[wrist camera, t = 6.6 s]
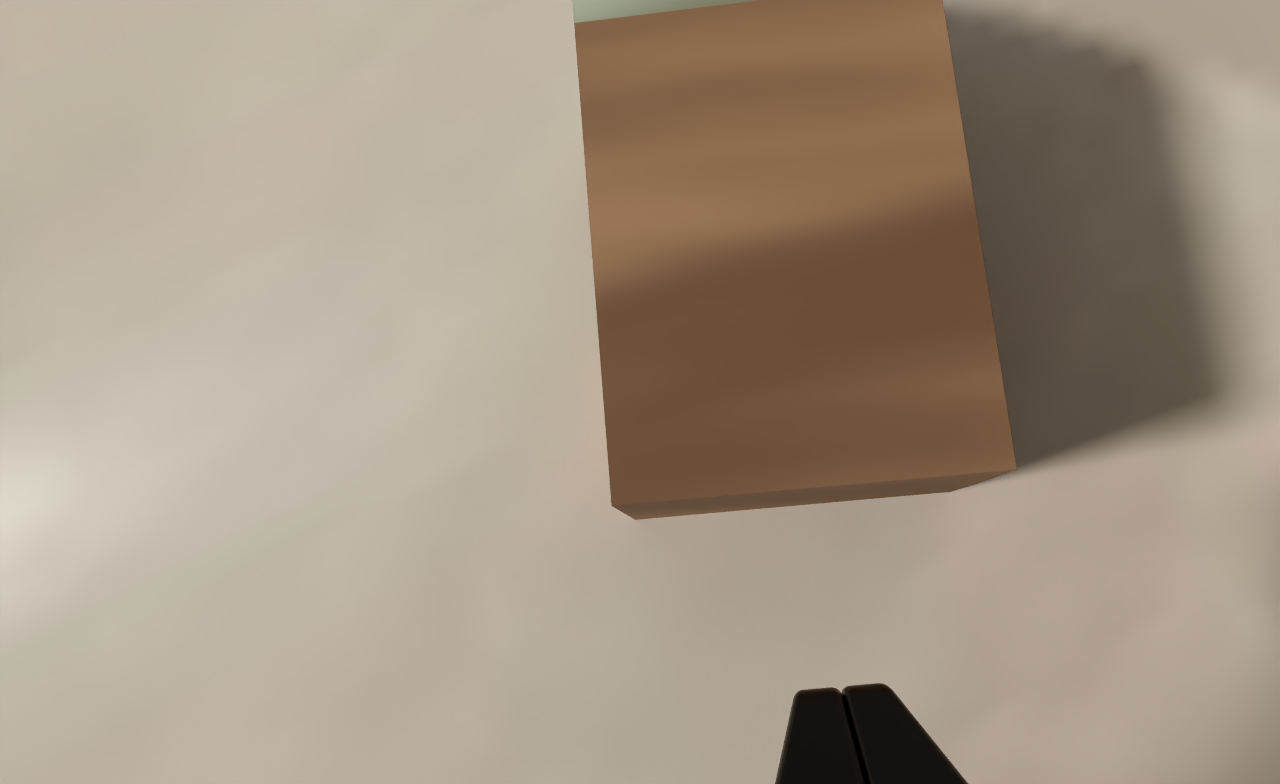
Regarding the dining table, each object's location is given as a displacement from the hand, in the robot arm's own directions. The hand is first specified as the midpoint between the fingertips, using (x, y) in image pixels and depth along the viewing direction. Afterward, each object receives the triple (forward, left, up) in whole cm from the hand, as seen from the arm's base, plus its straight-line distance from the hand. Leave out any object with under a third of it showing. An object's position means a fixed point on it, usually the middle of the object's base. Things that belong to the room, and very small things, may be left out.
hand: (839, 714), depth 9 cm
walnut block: (+2, -1, -4) cm, 5 cm away
